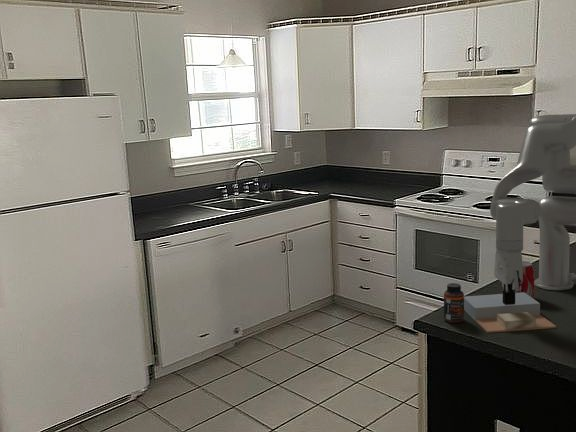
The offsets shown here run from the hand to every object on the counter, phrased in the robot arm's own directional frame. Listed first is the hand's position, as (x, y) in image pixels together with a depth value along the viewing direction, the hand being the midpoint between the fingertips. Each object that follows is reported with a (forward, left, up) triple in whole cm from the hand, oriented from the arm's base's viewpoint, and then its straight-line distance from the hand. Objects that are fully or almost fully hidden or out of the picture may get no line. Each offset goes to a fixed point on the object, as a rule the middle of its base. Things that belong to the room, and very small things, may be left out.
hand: (508, 303), depth 176 cm
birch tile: (0, +5, -3) cm, 6 cm away
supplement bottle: (+16, -3, -5) cm, 17 cm away
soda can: (-12, -18, -5) cm, 22 cm away
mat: (0, +4, -5) cm, 6 cm away
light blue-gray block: (0, -7, -5) cm, 8 cm away
